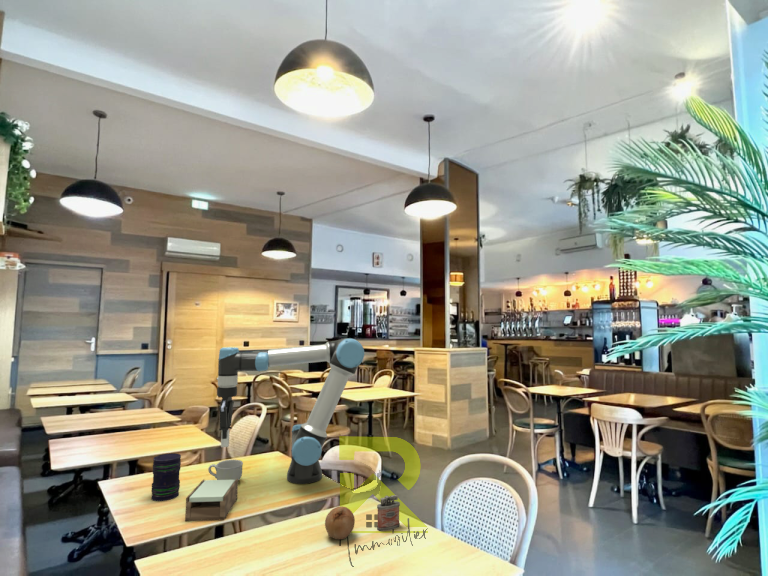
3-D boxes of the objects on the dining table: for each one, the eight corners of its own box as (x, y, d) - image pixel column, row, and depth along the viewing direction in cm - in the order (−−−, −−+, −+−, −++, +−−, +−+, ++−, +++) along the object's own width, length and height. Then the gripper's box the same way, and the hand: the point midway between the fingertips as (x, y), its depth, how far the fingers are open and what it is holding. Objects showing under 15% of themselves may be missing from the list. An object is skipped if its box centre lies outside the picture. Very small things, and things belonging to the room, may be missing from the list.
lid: (205, 484, 166) (205, 480, 166) (235, 483, 167) (235, 479, 167) (189, 502, 149) (189, 497, 149) (222, 501, 150) (222, 496, 150)
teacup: (246, 478, 190) (247, 459, 190) (235, 487, 179) (236, 467, 180) (215, 477, 191) (216, 458, 192) (203, 486, 180) (204, 466, 181)
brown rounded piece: (341, 552, 134) (340, 529, 130) (319, 536, 139) (318, 513, 135) (360, 530, 141) (360, 507, 137) (339, 515, 146) (338, 493, 142)
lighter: (379, 532, 141) (379, 500, 142) (375, 527, 144) (375, 496, 145) (401, 527, 144) (401, 496, 145) (396, 523, 147) (397, 492, 148)
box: (202, 500, 166) (203, 479, 167) (237, 499, 167) (237, 478, 168) (185, 521, 148) (186, 497, 149) (224, 519, 149) (225, 496, 150)
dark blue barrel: (181, 490, 175) (183, 452, 177) (176, 500, 166) (178, 459, 167) (154, 492, 173) (156, 454, 174) (147, 502, 164) (149, 461, 165)
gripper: (222, 384, 181) (219, 442, 179) (212, 388, 168) (210, 451, 166) (240, 384, 182) (238, 442, 180) (232, 388, 169) (230, 451, 167)
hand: (224, 446), depth 173 cm, fingers closed
